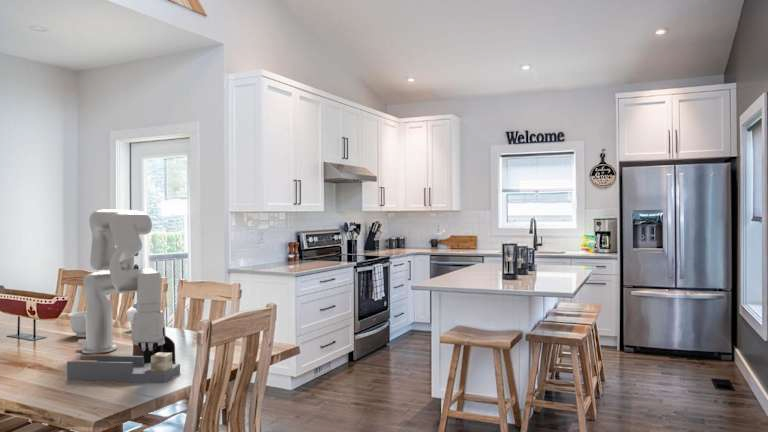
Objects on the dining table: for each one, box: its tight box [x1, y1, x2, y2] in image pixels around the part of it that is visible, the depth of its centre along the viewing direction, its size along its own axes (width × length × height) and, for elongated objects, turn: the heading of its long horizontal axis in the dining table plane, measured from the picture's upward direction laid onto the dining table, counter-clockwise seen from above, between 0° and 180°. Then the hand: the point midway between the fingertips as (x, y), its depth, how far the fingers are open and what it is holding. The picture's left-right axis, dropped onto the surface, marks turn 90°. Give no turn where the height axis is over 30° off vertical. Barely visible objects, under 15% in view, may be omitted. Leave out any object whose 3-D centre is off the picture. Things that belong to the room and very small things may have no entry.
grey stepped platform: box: [66, 353, 181, 384], centre depth 188 cm, size 34×12×6 cm, turn 87°
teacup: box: [67, 310, 86, 338], centre depth 248 cm, size 12×15×10 cm
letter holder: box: [132, 335, 176, 365], centre depth 209 cm, size 10×20×14 cm, turn 39°
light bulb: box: [126, 306, 137, 330], centre depth 261 cm, size 7×7×11 cm
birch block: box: [151, 352, 172, 372], centre depth 186 cm, size 5×5×5 cm
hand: (148, 361), depth 187 cm, fingers closed
